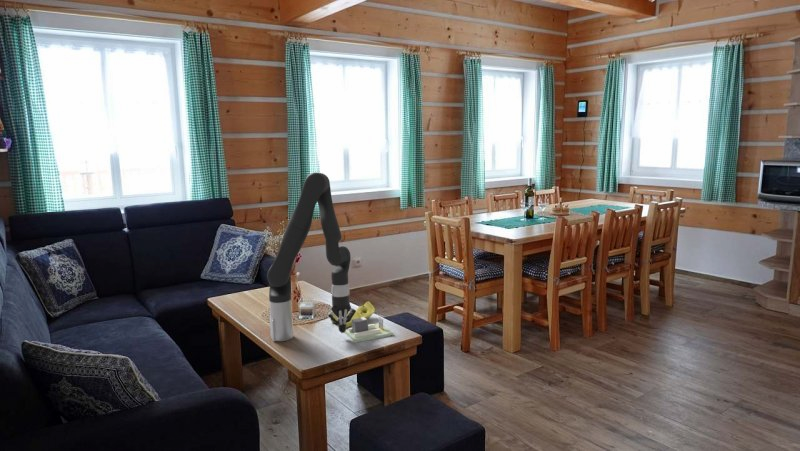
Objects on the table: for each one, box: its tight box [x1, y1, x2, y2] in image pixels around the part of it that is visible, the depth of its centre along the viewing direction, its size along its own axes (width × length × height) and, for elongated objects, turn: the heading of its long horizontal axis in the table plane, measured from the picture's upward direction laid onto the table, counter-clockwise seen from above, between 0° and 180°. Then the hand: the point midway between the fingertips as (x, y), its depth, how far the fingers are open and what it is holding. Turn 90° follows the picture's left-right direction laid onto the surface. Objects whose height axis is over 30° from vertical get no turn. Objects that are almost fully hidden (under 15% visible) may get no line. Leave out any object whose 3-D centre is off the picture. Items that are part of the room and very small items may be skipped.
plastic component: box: [330, 301, 376, 329], centre depth 256 cm, size 20×7×10 cm
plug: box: [351, 317, 369, 334], centre depth 237 cm, size 6×4×6 cm, turn 116°
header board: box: [344, 316, 394, 343], centre depth 239 cm, size 18×13×6 cm
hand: (342, 332), depth 234 cm, fingers closed
